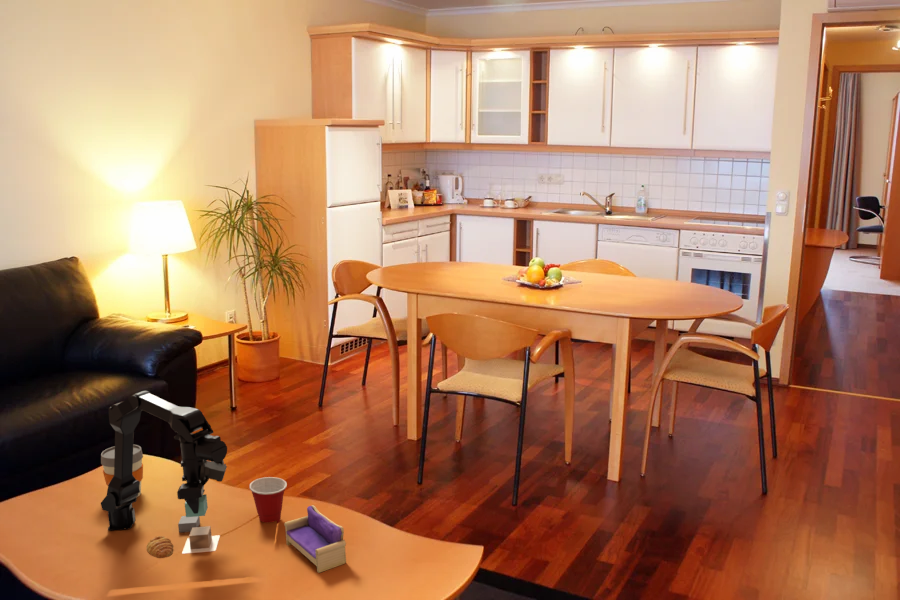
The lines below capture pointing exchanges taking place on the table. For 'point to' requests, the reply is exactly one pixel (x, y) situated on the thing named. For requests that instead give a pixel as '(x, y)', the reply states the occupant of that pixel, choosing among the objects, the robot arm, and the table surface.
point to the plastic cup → (268, 497)
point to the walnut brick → (200, 537)
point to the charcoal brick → (188, 523)
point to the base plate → (211, 548)
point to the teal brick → (202, 507)
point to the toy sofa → (317, 539)
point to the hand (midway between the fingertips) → (197, 509)
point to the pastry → (160, 547)
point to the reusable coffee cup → (108, 464)
